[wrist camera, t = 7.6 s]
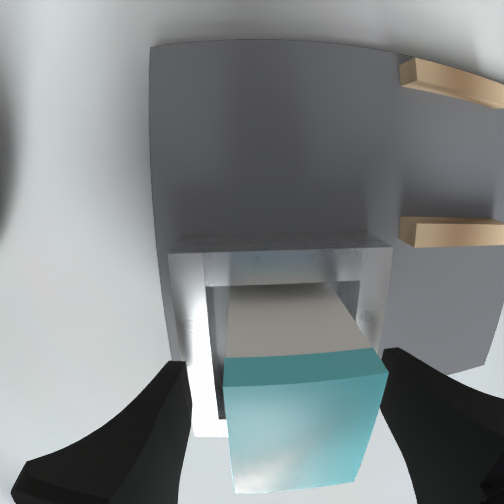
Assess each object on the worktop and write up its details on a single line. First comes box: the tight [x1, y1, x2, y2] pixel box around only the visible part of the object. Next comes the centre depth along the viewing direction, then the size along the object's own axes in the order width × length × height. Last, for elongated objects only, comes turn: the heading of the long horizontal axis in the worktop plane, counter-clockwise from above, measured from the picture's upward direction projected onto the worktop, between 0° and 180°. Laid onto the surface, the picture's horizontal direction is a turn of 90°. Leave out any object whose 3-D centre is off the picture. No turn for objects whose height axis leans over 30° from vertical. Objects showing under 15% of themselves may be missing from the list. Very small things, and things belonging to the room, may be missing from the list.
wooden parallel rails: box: [399, 58, 504, 248], centre depth 12 cm, size 6×8×2 cm
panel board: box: [149, 39, 504, 386], centre depth 14 cm, size 19×17×1 cm
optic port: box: [167, 231, 393, 437], centre depth 13 cm, size 8×9×2 cm
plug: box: [223, 282, 389, 493], centre depth 11 cm, size 4×5×7 cm
